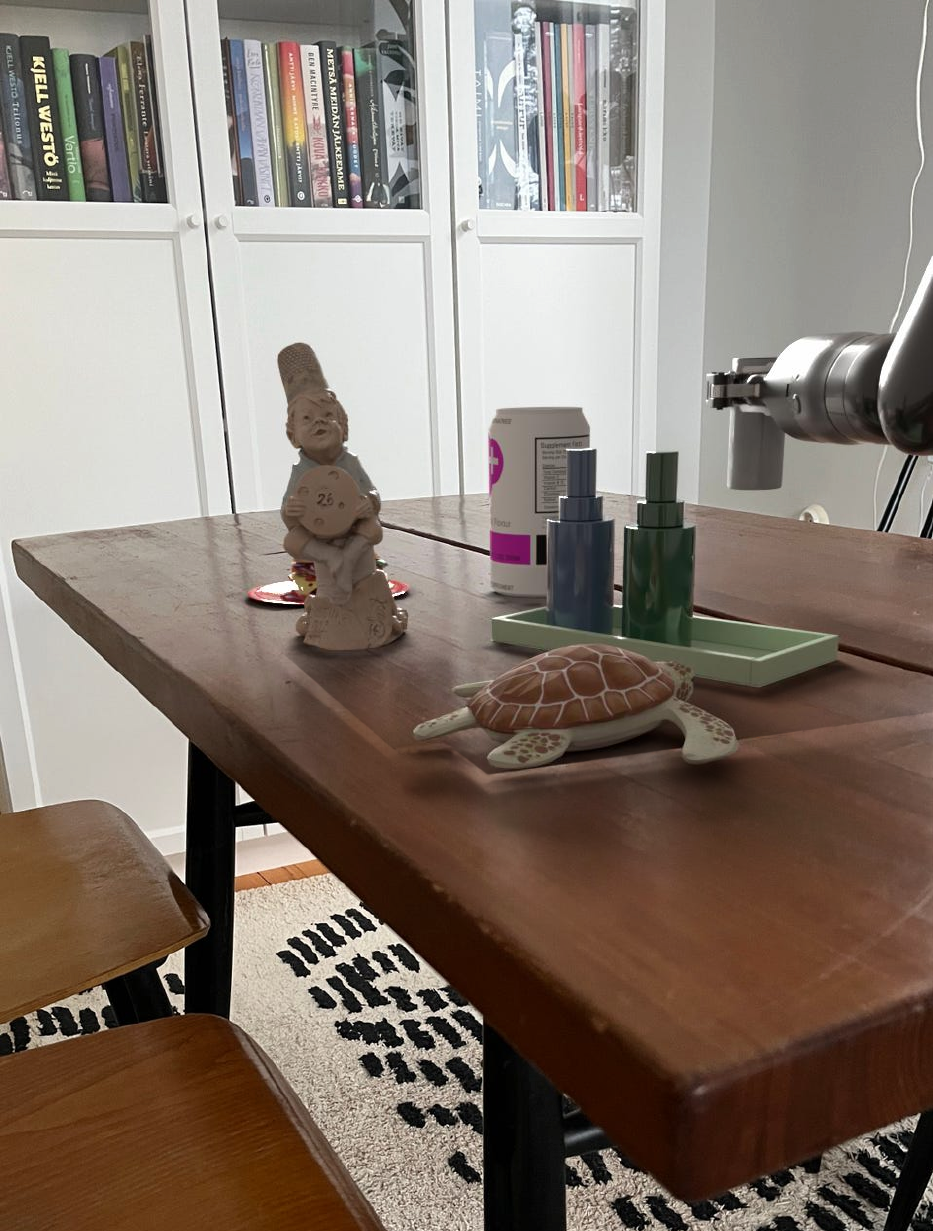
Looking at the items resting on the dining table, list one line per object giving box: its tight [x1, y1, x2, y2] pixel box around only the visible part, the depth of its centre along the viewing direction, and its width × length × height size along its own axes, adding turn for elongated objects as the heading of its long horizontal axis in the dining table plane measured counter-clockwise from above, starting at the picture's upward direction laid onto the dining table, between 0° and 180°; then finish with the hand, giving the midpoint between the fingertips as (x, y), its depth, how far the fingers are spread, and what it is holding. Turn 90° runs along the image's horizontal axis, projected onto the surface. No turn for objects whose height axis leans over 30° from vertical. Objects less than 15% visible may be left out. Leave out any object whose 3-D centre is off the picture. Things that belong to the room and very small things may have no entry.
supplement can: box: [487, 406, 591, 598], centre depth 101 cm, size 8×8×15 cm
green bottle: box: [621, 449, 698, 648], centre depth 79 cm, size 5×5×12 cm
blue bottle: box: [546, 447, 616, 635], centre depth 83 cm, size 5×5×12 cm
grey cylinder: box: [726, 356, 786, 491], centre depth 102 cm, size 4×4×10 cm
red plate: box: [247, 549, 410, 605], centre depth 106 cm, size 14×14×6 cm
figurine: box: [276, 341, 409, 651], centre depth 83 cm, size 9×8×20 cm
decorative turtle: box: [412, 644, 740, 770], centre depth 62 cm, size 18×17×5 cm
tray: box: [491, 604, 840, 688], centre depth 81 cm, size 21×9×2 cm, turn 46°
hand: (746, 387), depth 103 cm, fingers closed on grey cylinder, 4 cm apart
